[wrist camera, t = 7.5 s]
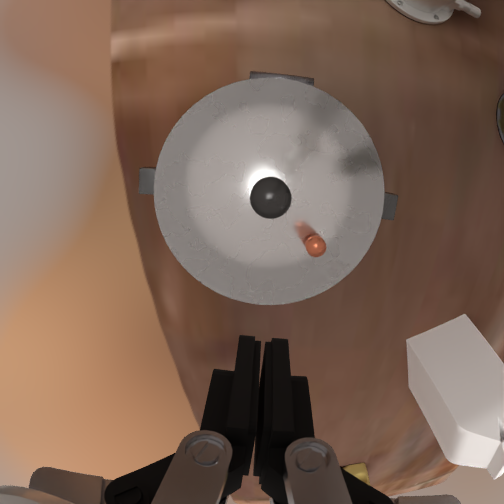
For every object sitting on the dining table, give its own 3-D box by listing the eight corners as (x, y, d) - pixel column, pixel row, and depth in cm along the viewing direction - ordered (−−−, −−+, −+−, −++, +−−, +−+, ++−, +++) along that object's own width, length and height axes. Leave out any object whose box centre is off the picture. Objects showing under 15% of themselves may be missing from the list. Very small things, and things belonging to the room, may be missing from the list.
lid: (391, 96, 22) (405, 90, 19) (357, 307, 27) (366, 323, 25) (168, 71, 22) (156, 62, 19) (156, 287, 28) (145, 301, 25)
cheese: (323, 466, 55) (327, 501, 46) (367, 460, 55) (375, 494, 45) (317, 483, 59) (320, 515, 50) (357, 479, 58) (363, 509, 49)
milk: (406, 339, 42) (476, 473, 18) (464, 313, 40) (551, 421, 16) (408, 387, 46) (457, 504, 21) (461, 363, 44) (523, 464, 19)
